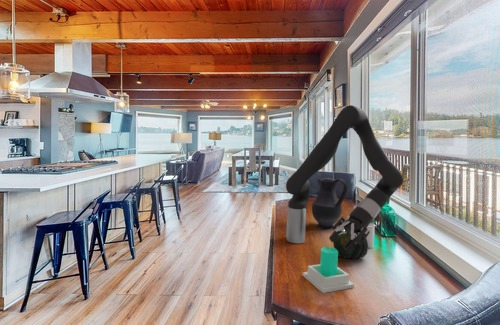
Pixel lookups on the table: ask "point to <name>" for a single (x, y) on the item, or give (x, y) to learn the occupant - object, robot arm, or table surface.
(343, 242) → the squash
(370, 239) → the mug
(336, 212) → the pitcher
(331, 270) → the candle
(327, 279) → the candle stand
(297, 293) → the table surface
